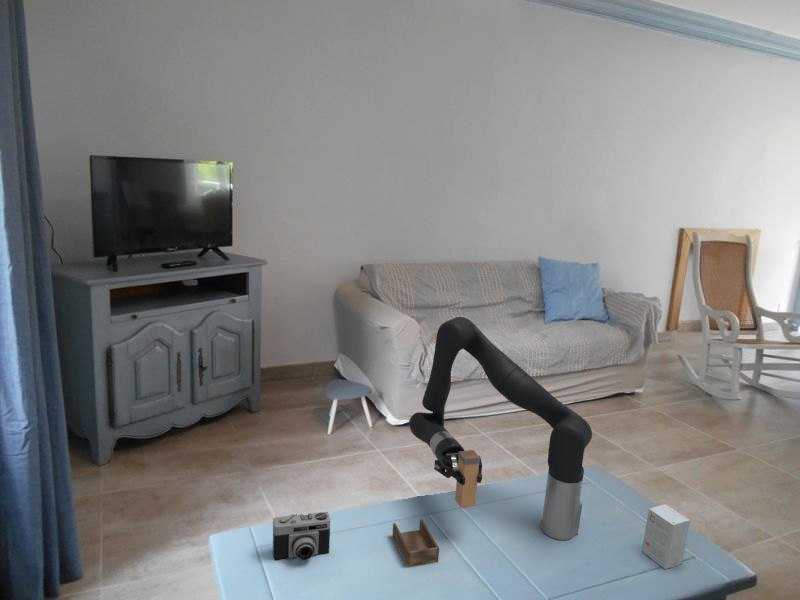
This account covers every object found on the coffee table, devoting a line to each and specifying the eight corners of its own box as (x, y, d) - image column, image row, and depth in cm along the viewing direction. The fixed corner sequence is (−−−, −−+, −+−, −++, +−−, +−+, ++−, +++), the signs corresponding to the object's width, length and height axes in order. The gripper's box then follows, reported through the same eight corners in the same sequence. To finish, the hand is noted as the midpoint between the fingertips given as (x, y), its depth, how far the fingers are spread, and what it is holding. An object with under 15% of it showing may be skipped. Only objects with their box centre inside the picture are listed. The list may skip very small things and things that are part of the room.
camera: (274, 571, 146) (275, 535, 143) (272, 549, 153) (272, 515, 151) (332, 563, 150) (333, 528, 147) (326, 543, 157) (328, 509, 155)
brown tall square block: (468, 497, 163) (473, 449, 160) (475, 505, 159) (480, 457, 156) (454, 499, 162) (458, 451, 158) (460, 507, 158) (465, 459, 154)
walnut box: (421, 532, 164) (422, 519, 163) (438, 562, 153) (439, 548, 152) (392, 536, 162) (393, 523, 161) (407, 567, 150) (408, 553, 149)
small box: (682, 564, 158) (691, 520, 155) (665, 570, 155) (673, 525, 152) (657, 545, 165) (665, 503, 162) (640, 551, 162) (648, 508, 159)
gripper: (424, 439, 168) (447, 470, 153) (470, 435, 173) (498, 464, 157) (422, 464, 170) (445, 497, 154) (468, 458, 175) (495, 490, 159)
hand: (471, 480), depth 156 cm, fingers closed on brown tall square block, 4 cm apart
